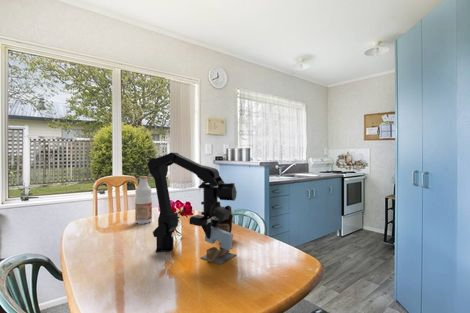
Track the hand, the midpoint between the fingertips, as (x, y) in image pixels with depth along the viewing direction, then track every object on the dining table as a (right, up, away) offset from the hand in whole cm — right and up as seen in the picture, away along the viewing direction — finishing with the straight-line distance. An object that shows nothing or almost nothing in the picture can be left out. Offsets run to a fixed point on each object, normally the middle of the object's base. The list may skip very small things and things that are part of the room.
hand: (210, 237), depth 99 cm
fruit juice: (-46, -7, +50) cm, 68 cm away
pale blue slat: (+3, -2, -2) cm, 4 cm away
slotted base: (+3, -7, -2) cm, 8 cm away
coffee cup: (+5, -7, +18) cm, 20 cm away
